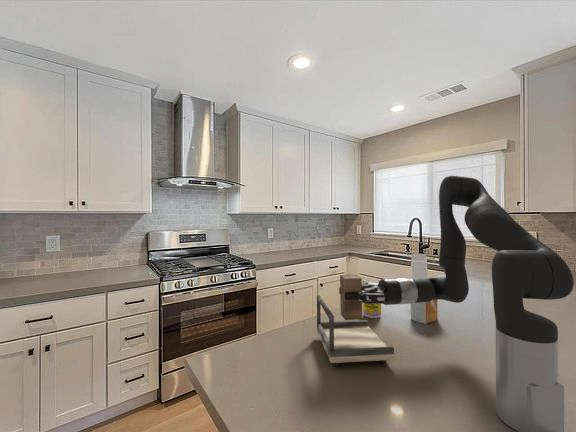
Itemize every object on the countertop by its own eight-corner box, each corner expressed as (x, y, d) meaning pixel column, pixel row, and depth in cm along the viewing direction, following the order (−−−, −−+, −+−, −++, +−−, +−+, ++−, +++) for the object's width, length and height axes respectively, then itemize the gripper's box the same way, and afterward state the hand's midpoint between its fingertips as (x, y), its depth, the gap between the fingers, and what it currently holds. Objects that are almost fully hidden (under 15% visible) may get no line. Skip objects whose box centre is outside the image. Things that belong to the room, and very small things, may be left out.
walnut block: (362, 319, 81) (361, 278, 81) (345, 320, 81) (344, 278, 81) (356, 313, 86) (356, 274, 86) (340, 313, 86) (340, 274, 86)
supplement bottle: (361, 317, 110) (361, 284, 110) (365, 311, 116) (365, 280, 116) (379, 320, 107) (379, 286, 107) (382, 314, 113) (382, 282, 113)
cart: (394, 367, 74) (393, 313, 74) (330, 370, 73) (329, 316, 73) (366, 334, 94) (366, 292, 94) (316, 337, 93) (315, 294, 93)
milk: (411, 299, 133) (410, 252, 133) (425, 300, 131) (424, 253, 131) (413, 303, 127) (412, 254, 127) (427, 304, 125) (427, 254, 125)
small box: (426, 324, 102) (425, 289, 102) (410, 319, 108) (410, 285, 108) (438, 320, 107) (437, 285, 107) (422, 315, 112) (422, 282, 112)
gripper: (386, 273, 92) (335, 275, 90) (409, 285, 78) (348, 287, 76) (387, 296, 92) (336, 298, 91) (409, 312, 78) (349, 314, 76)
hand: (342, 293), depth 83 cm, fingers closed on walnut block, 5 cm apart
